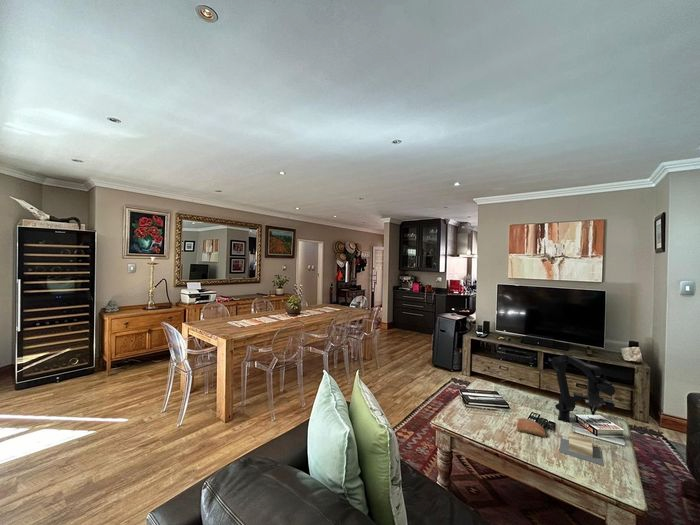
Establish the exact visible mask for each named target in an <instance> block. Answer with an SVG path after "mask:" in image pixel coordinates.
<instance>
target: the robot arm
mask: <svg viewBox="0 0 700 525" xmlns="http://www.w3.org/2000/svg"><path fill="white" fill-rule="evenodd" d="M550 363H551V366H552V368H553V369H554V371H555V372H556V378H557V383H558V389H559V394H560V395H559V398H558V403H556V404H554V407H555V410H557V411H558V415H557V420H558V421H562V422H566V423H569V424H570V423H571V418H570V415H571V414H570V413H571V412H574V410H575V408H576V405H577V404H576V401H578V402H581V401H583V400H584V402H585V404H586V405H587V406H588V407H589V409H590V413H591V415H592V416H595V414H596V412H597V411H598V409H599V408H602V405H605V407H607V408H608V409H612V410H615V408H616V406H615V402H614V400H611V399H606V398H604V397H601V393H602V394H605V395H607V396H614V395H615V393H616V388H615V387H614V386H613V383H612V382H609V381H608V379H607V378H606V376H605V374H604V372H603V370H602V368H601V367H599V366H597V365H594V364H589V363H586V362H585V361H583V360H581V359H579V358H577V357H576V356H574V355H573V354H567V353H566V354H565V353H564V354H562V355H560V356H556V357H552V358H551V359H550ZM567 364H571V365H573V366H574V367H576V368H578V369H580V370H581V371H582V372H583V373H584V374H585V376H584V377H583V378H584V379H586V380H587V388H586V389H587V393H586V395H587V396H585V395H582V394H583V393H579V392H573V397H572V396H571V394H570V391H569V384H568V381H567V380H568V379H567V375H566V370H567V367H568V365H567Z"/></svg>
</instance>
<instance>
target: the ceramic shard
mask: <svg viewBox="0 0 700 525" xmlns="http://www.w3.org/2000/svg"><path fill="white" fill-rule="evenodd" d="M516 431H517V432H522V433H528V434H532V435H536V436H539V437H541V438H545V439H546V434H547V433H546V431H545V428H544V427H543V426H542V425H541V424H540V423H538V422H536V421H534V420H533V421H532V419H530V418H525V417H521V418H518V420H517V422H516Z"/></svg>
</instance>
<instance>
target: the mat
mask: <svg viewBox="0 0 700 525" xmlns="http://www.w3.org/2000/svg"><path fill="white" fill-rule="evenodd" d="M559 441H560V442H559V444H560V445H559V453H561V454H564V455H568V456H571V457H574V458H577V459H580V460H583V461H587V462H590V463H593V464H596V465H599V466H604V463H603V456H602V450H601V449H599V448H596V447H594V446H592V448H593V458H591V457H588V456H585V455H582V454H579V453H575V452H572V451H569V439H566V438H563V437H560V440H559Z"/></svg>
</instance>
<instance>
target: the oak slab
mask: <svg viewBox="0 0 700 525" xmlns="http://www.w3.org/2000/svg"><path fill="white" fill-rule="evenodd" d="M568 436H569V437H568V440H569V451H572V452H575V453H579V454H582V455H585V456H588V457H591V458H593V448H594V447H593V440H592V438H589V437H588V436H587V437H586V436H583V435H580V434H576V433H572V432H569V433H568ZM592 447H593V448H592Z"/></svg>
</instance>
